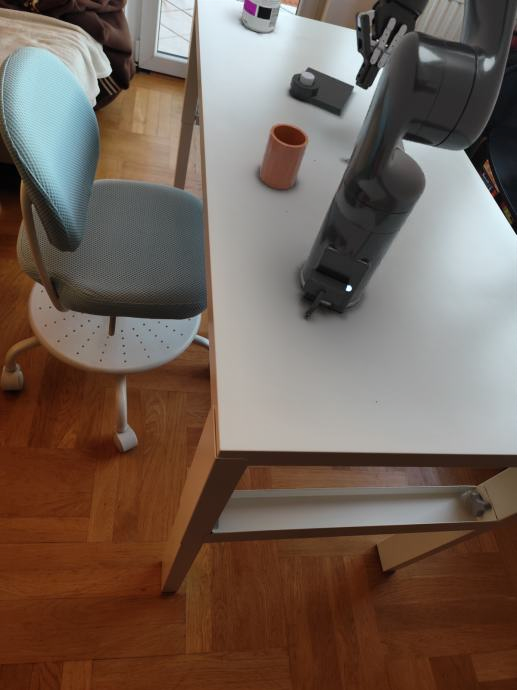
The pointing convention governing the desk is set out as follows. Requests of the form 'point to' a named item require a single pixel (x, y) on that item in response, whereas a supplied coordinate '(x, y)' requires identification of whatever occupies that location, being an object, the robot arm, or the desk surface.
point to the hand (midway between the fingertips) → (360, 87)
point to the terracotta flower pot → (283, 156)
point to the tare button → (306, 78)
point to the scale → (322, 91)
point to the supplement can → (260, 14)
